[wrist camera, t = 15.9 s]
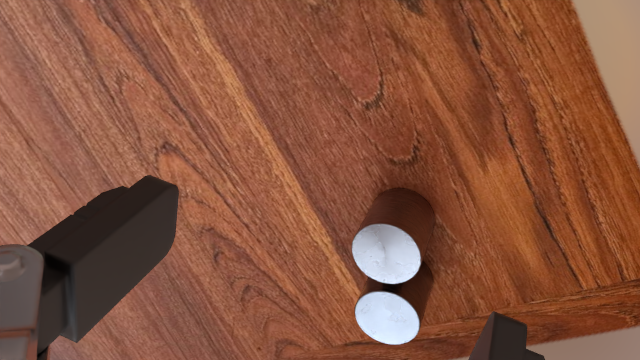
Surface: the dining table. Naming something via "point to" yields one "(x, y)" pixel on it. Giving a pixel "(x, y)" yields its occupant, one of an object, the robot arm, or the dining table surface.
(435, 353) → the dining table surface
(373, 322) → the grey tin
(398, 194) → the grey tin
